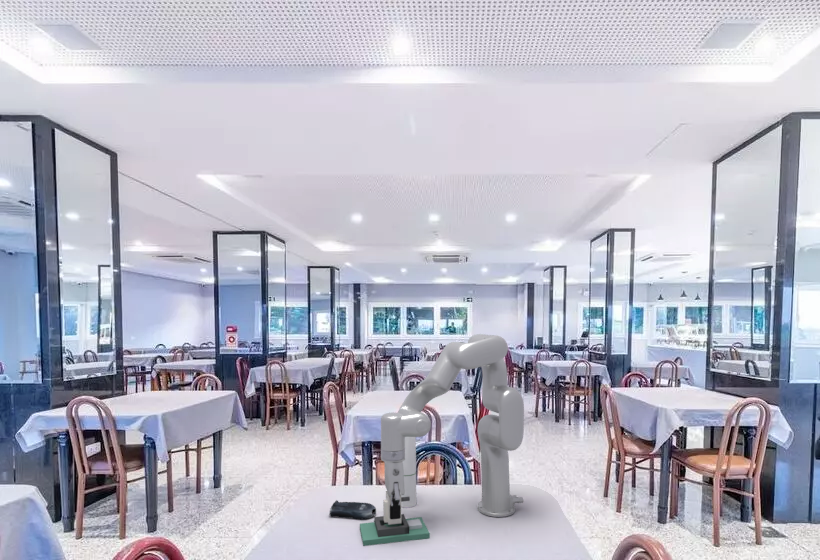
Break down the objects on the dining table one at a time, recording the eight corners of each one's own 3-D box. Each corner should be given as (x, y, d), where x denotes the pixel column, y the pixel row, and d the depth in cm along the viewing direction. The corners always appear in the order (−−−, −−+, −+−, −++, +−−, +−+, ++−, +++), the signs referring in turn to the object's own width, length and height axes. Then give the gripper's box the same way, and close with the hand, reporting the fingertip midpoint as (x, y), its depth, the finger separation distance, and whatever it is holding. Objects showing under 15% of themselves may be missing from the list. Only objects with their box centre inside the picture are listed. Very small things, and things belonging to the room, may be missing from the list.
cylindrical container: (404, 497, 166) (403, 428, 167) (420, 502, 161) (419, 431, 163) (392, 504, 160) (391, 432, 162) (408, 509, 156) (407, 435, 157)
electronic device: (328, 524, 149) (373, 520, 147) (327, 506, 150) (371, 502, 148) (337, 516, 158) (379, 511, 156) (336, 499, 159) (377, 494, 157)
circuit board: (421, 521, 146) (421, 510, 147) (429, 538, 136) (429, 526, 136) (359, 528, 142) (359, 517, 143) (363, 546, 132) (363, 533, 132)
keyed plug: (407, 515, 143) (407, 489, 143) (411, 522, 138) (410, 495, 138) (382, 517, 141) (382, 491, 142) (385, 524, 136) (385, 497, 137)
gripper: (410, 461, 133) (411, 525, 132) (400, 445, 150) (400, 502, 148) (385, 463, 132) (385, 528, 130) (377, 447, 148) (378, 504, 147)
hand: (393, 513), depth 139 cm, fingers closed on keyed plug, 4 cm apart
